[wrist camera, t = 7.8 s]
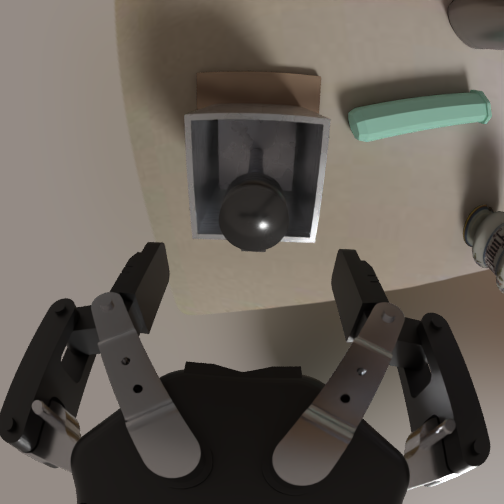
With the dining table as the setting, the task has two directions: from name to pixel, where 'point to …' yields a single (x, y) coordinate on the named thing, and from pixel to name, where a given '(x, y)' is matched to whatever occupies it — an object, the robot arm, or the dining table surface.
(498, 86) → the dining table surface
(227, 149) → the plunger
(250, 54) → the dining table surface
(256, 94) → the walnut board
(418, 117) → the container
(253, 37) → the dining table surface
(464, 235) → the apothecary jar
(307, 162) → the square mug
